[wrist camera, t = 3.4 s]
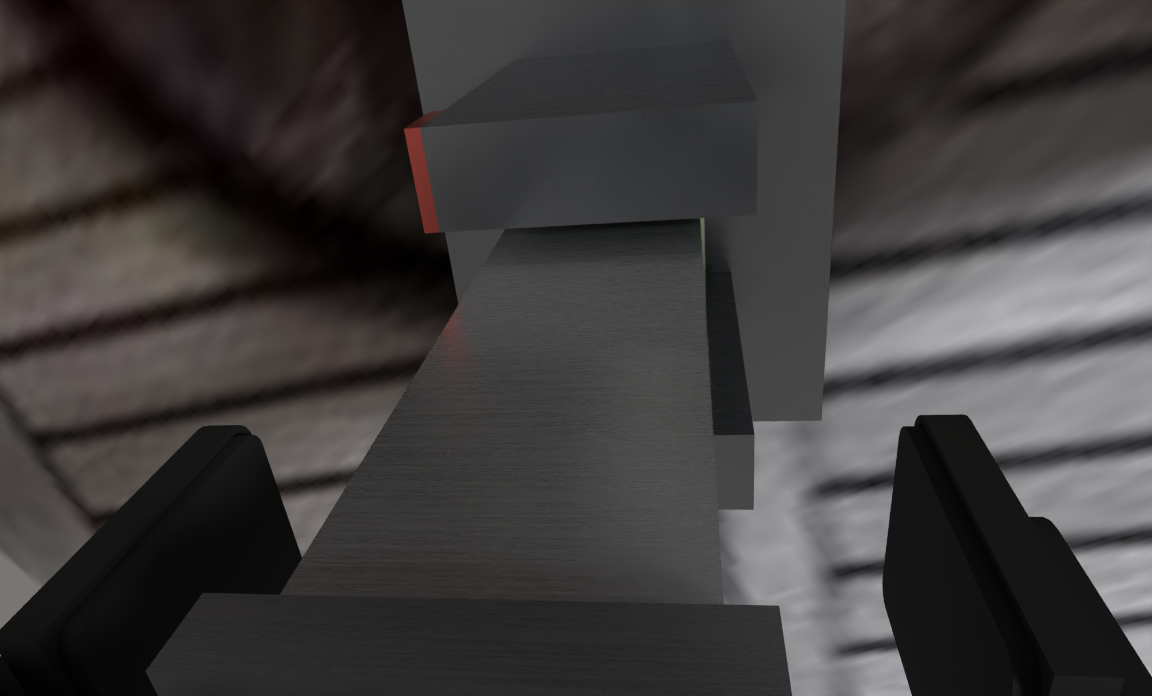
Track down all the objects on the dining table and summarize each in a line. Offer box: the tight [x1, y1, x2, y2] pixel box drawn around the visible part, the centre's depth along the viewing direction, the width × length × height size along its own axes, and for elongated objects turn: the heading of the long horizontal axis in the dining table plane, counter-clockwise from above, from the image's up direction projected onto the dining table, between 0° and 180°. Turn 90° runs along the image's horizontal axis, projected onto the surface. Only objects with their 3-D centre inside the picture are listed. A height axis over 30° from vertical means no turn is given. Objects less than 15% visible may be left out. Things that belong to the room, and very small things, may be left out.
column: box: [146, 218, 792, 696], centre depth 15 cm, size 5×5×19 cm
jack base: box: [402, 0, 846, 510], centre depth 21 cm, size 16×12×12 cm
